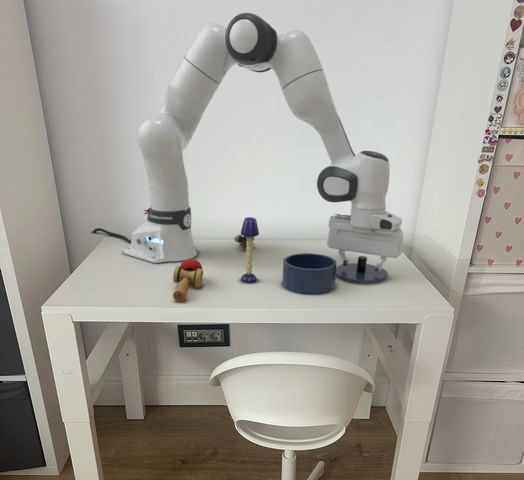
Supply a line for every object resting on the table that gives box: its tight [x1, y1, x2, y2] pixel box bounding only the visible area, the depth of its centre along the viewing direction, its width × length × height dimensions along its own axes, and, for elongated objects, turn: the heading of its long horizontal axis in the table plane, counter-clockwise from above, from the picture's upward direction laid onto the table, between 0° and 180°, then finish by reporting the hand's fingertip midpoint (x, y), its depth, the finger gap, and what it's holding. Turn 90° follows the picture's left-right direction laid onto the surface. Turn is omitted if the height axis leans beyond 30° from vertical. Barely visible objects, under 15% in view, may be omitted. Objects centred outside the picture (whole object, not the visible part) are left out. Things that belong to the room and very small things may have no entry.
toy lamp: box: [240, 216, 260, 284], centre depth 130 cm, size 5×5×17 cm
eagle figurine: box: [234, 233, 257, 252], centre depth 159 cm, size 8×7×9 cm
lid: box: [336, 255, 389, 284], centre depth 138 cm, size 15×15×5 cm
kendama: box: [172, 258, 204, 303], centre depth 126 cm, size 8×6×18 cm
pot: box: [282, 252, 338, 295], centre depth 130 cm, size 14×14×6 cm
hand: (361, 268), depth 138 cm, fingers open, 8 cm apart
